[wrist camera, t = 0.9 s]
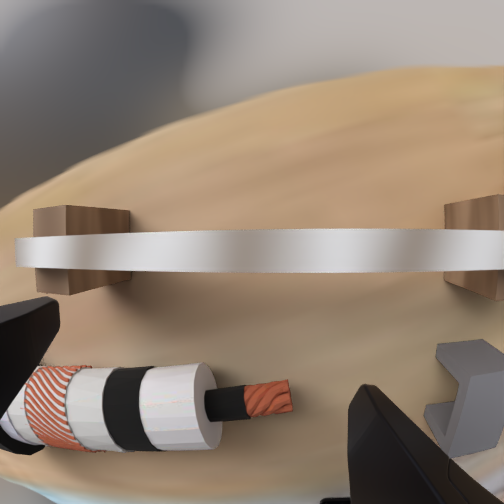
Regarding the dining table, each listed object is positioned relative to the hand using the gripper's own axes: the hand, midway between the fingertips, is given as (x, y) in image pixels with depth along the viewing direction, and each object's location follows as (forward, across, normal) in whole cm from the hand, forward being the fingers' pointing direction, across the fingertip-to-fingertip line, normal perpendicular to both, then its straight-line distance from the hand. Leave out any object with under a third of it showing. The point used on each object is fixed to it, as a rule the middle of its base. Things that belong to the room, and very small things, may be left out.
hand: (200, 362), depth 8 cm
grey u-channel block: (+9, -17, +6) cm, 20 cm away
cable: (+12, +9, +16) cm, 22 cm away
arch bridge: (+13, -2, 0) cm, 13 cm away
